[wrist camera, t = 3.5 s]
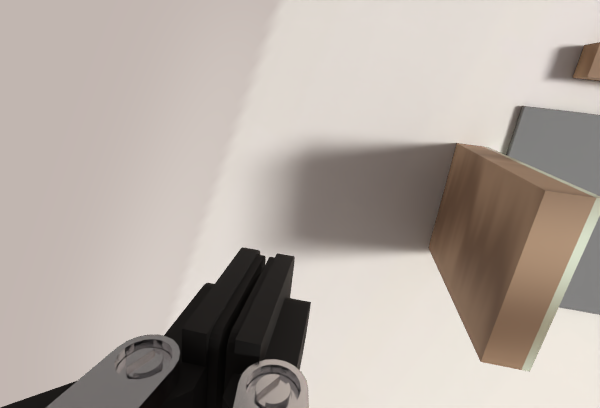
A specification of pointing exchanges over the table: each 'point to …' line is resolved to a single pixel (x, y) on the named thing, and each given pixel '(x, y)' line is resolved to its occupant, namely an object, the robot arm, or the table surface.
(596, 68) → the turner
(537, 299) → the brown wooden block
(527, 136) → the mat
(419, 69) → the table surface
